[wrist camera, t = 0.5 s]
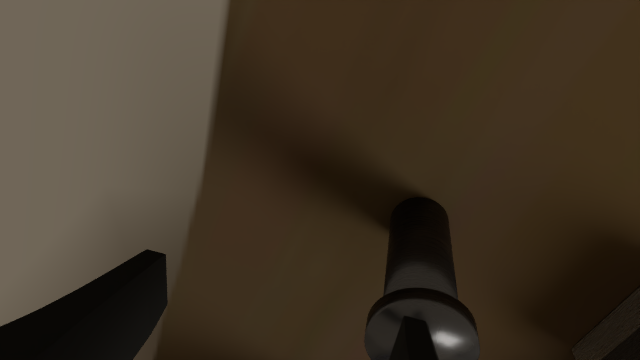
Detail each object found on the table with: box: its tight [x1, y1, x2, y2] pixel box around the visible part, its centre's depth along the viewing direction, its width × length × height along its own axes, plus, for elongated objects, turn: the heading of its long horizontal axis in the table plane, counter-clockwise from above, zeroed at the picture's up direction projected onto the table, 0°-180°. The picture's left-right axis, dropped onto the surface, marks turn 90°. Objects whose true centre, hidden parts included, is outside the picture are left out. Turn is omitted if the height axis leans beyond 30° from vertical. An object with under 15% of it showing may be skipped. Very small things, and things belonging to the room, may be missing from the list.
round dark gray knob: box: [365, 198, 480, 360], centre depth 18 cm, size 4×4×8 cm
